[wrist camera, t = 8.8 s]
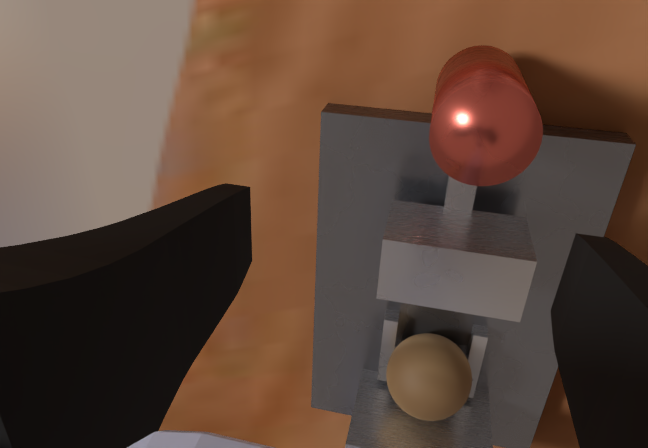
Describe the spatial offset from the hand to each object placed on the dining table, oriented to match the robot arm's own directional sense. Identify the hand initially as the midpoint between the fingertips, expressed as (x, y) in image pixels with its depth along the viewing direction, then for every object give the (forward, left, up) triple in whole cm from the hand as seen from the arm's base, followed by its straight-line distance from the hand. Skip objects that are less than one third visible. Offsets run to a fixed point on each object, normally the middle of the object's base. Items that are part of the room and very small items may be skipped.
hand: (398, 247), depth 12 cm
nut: (-10, -2, -9) cm, 13 cm away
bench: (-8, -2, -10) cm, 13 cm away
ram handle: (-1, -2, -8) cm, 8 cm away
